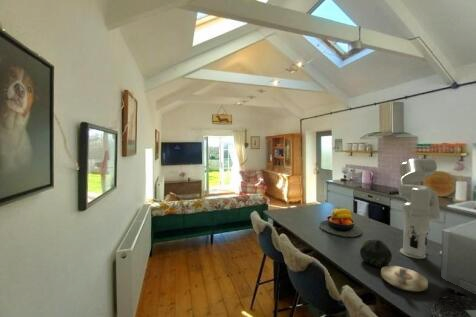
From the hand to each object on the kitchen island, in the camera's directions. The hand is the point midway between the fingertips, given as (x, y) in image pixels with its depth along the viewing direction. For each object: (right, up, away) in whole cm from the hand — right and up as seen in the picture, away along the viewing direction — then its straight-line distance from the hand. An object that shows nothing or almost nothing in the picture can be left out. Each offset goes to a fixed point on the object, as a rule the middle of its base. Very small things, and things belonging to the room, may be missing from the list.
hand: (418, 245), depth 118 cm
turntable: (-14, -13, -9) cm, 21 cm away
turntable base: (-14, -14, -9) cm, 22 cm away
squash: (-16, -14, +10) cm, 24 cm away
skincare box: (0, -4, 0) cm, 4 cm away
